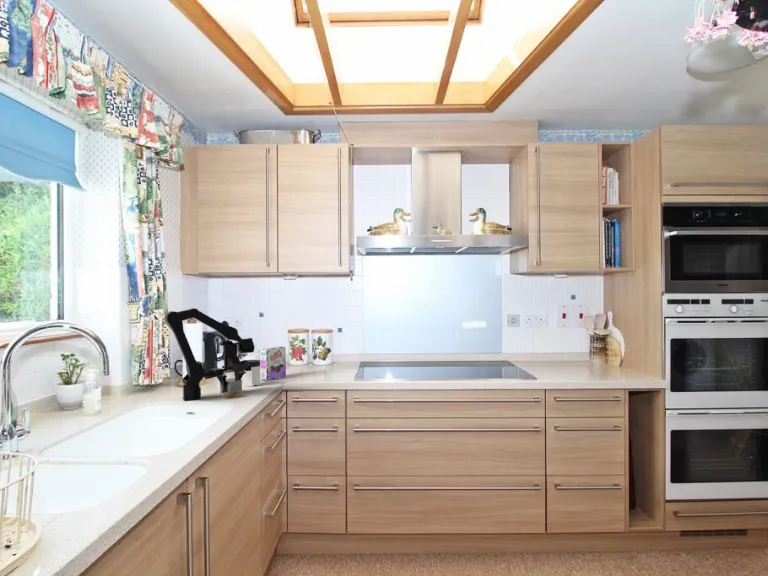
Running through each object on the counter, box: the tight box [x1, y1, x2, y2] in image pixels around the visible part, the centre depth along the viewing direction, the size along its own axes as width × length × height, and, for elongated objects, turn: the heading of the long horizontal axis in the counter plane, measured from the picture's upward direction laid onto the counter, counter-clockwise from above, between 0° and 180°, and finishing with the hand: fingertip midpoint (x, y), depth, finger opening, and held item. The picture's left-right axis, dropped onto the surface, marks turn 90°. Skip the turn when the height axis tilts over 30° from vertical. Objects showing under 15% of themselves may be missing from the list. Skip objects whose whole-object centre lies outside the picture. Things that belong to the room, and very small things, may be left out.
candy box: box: [258, 345, 287, 381], centre depth 242 cm, size 14×6×16 cm, turn 147°
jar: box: [243, 359, 262, 387], centre depth 225 cm, size 9×8×12 cm
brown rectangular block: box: [224, 390, 243, 400], centre depth 199 cm, size 7×2×2 cm, turn 121°
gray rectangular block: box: [219, 377, 243, 394], centre depth 207 cm, size 6×8×6 cm
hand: (231, 388), depth 207 cm, fingers closed on gray rectangular block, 6 cm apart
